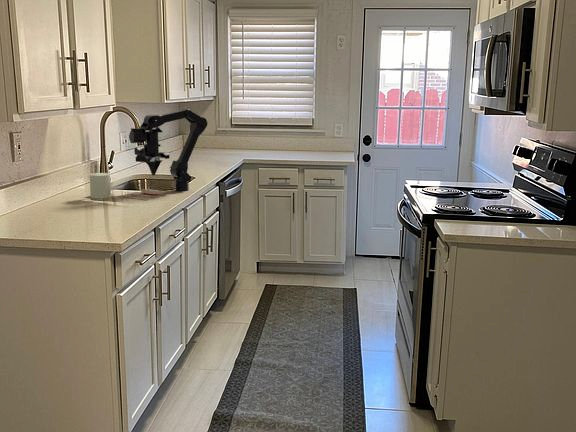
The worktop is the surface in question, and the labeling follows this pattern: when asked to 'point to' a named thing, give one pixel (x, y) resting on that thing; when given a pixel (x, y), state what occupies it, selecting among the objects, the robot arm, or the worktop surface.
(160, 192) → the tile
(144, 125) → the robot arm
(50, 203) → the worktop surface
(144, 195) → the board
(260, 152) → the worktop surface
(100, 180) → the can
